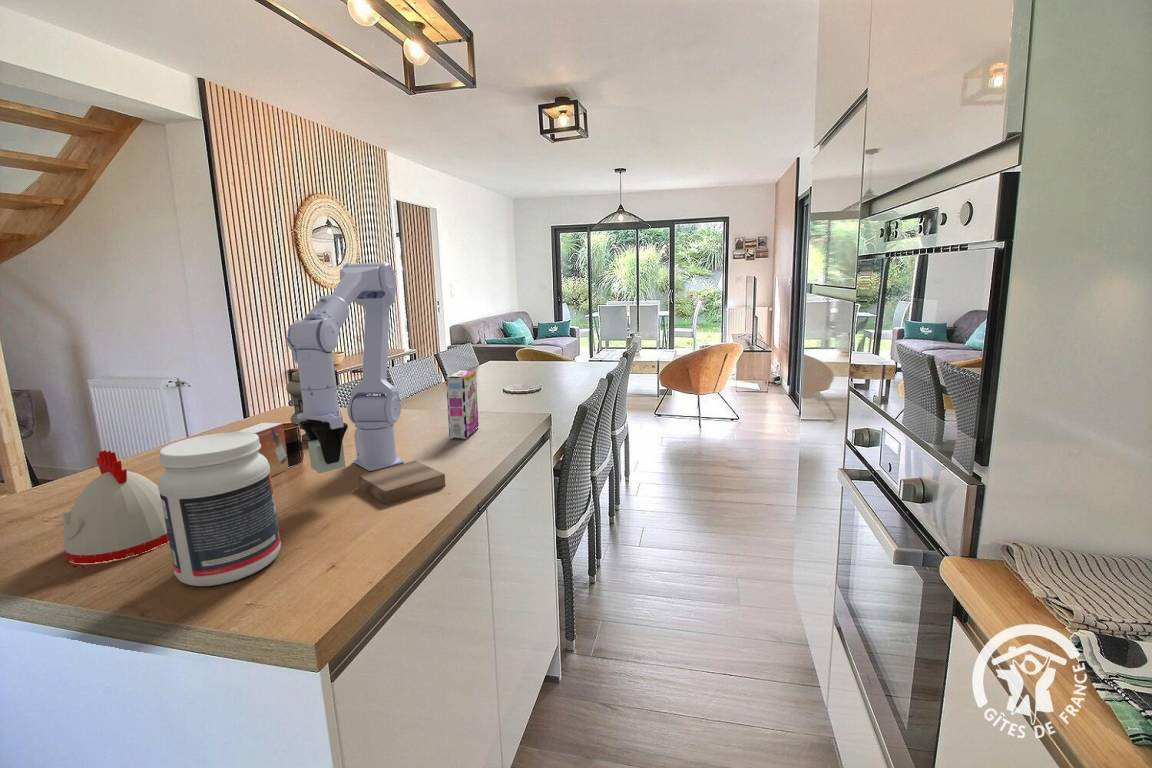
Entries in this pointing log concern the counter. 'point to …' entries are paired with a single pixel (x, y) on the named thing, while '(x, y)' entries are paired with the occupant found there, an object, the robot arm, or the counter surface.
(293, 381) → the ornate stone vase
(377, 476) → the walnut slab
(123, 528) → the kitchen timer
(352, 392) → the robot arm
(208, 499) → the supplement tub
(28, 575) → the counter surface
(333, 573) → the counter surface
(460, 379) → the candy bar box
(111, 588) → the counter surface
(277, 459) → the small box
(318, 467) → the sage block
